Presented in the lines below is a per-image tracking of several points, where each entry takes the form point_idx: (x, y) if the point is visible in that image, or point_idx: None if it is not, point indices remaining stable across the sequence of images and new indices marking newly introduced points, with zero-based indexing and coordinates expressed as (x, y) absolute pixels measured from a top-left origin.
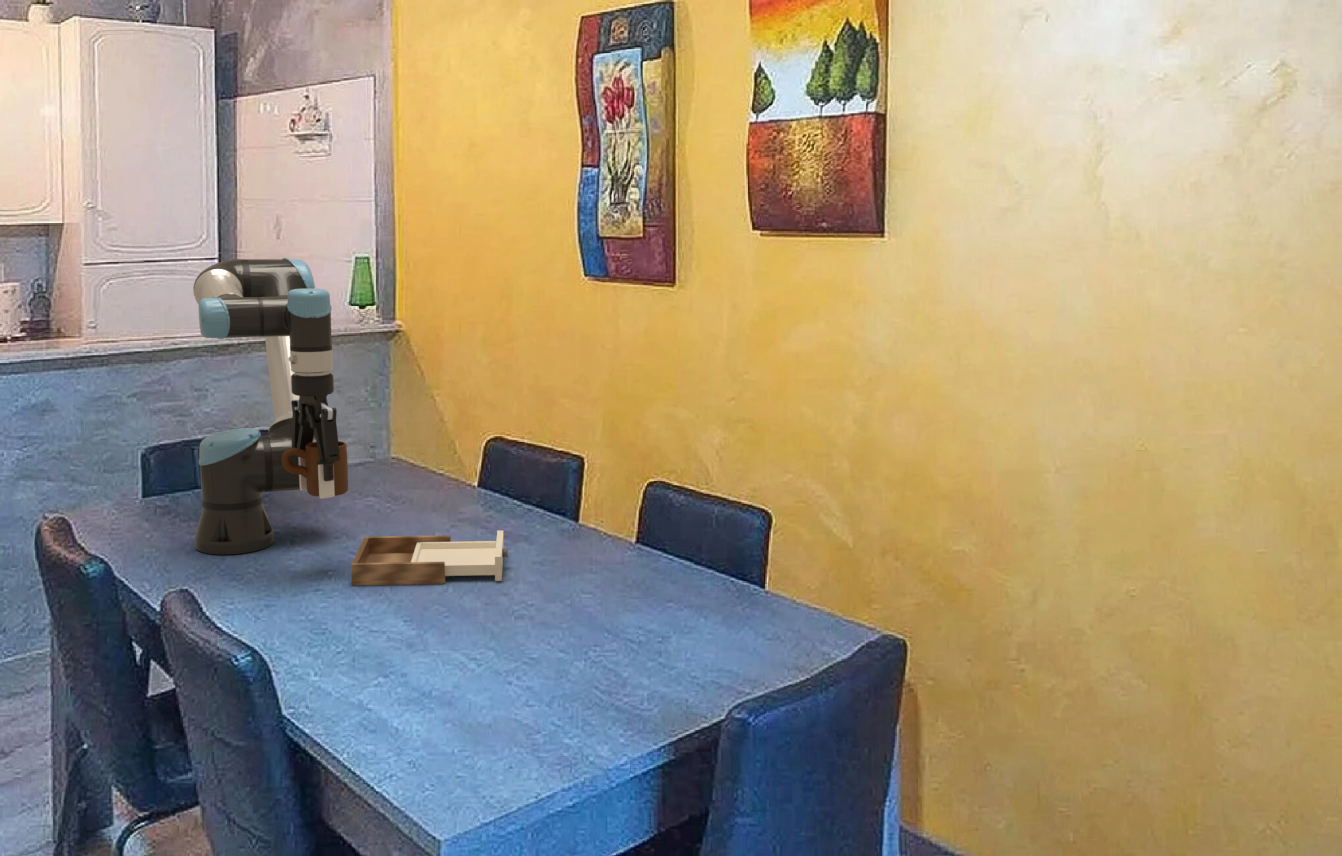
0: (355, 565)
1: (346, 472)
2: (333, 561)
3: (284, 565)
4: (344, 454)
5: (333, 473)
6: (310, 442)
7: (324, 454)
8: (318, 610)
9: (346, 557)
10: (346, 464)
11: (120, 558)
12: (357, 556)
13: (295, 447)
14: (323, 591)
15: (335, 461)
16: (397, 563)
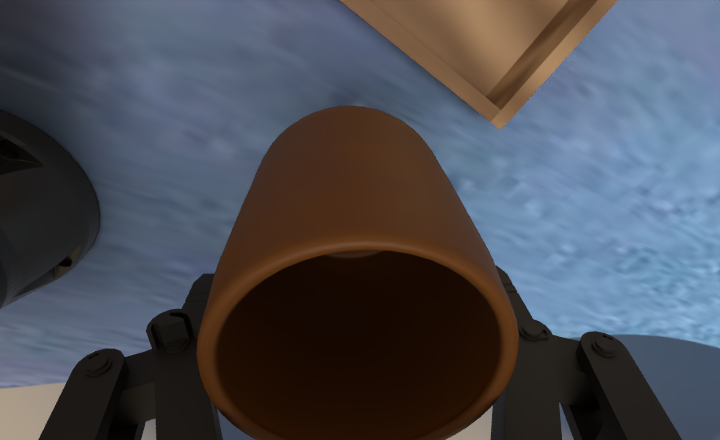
0: (507, 120)
1: (443, 173)
2: (275, 57)
3: (240, 169)
4: (486, 248)
5: (514, 288)
6: (213, 415)
7: (573, 428)
8: (551, 227)
9: (258, 5)
10: (452, 191)
11: (38, 374)
12: (452, 81)
13: (144, 424)
14: (467, 177)
15: (579, 341)
16: (594, 18)
